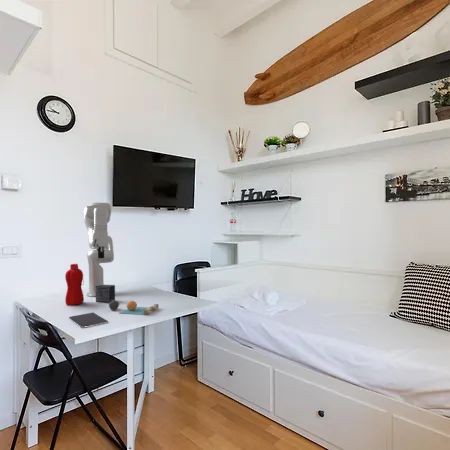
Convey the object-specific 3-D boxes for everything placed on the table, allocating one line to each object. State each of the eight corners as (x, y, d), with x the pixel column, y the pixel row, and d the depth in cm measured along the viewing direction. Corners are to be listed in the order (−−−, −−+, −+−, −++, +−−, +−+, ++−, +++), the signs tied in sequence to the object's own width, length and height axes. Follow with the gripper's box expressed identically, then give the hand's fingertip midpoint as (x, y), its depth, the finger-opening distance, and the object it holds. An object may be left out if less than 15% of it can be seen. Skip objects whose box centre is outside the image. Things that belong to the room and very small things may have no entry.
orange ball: (132, 298, 187) (140, 303, 186) (128, 305, 188) (135, 311, 187) (127, 300, 182) (135, 305, 181) (123, 308, 182) (131, 313, 181)
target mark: (132, 306, 192) (132, 306, 192) (153, 308, 189) (153, 307, 189) (119, 313, 178) (119, 313, 178) (142, 314, 175) (142, 314, 175)
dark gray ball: (118, 297, 188) (122, 306, 188) (111, 300, 190) (115, 309, 189) (112, 300, 183) (116, 309, 183) (105, 303, 184) (109, 312, 184)
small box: (115, 300, 208) (115, 284, 208) (109, 303, 201) (109, 286, 201) (101, 299, 211) (101, 284, 211) (95, 302, 204) (95, 285, 204)
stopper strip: (155, 308, 188) (155, 304, 188) (158, 308, 188) (158, 304, 188) (143, 315, 175) (143, 310, 175) (147, 315, 174) (147, 310, 174)
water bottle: (78, 306, 195) (78, 265, 195) (63, 305, 197) (62, 264, 197) (88, 302, 204) (87, 263, 204) (73, 301, 206) (72, 262, 206)
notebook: (107, 323, 162) (93, 315, 178) (107, 320, 162) (93, 312, 178) (81, 329, 153) (68, 319, 169) (81, 326, 153) (68, 316, 169)
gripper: (102, 227, 203) (103, 256, 203) (87, 228, 189) (87, 259, 189) (113, 227, 201) (113, 256, 202) (98, 228, 187) (99, 259, 187)
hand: (101, 258), depth 195 cm, fingers closed
